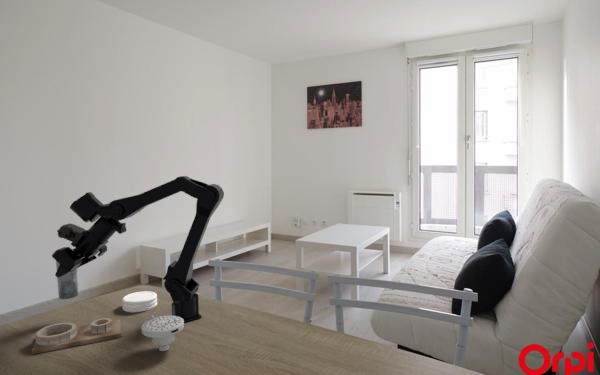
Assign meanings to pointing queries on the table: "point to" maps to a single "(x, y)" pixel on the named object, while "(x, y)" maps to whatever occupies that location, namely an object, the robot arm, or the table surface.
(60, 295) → the grey lidded canister
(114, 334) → the fitting board
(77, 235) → the robot arm
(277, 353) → the table surface
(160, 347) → the showerhead
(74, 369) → the table surface
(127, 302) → the white plate stack
